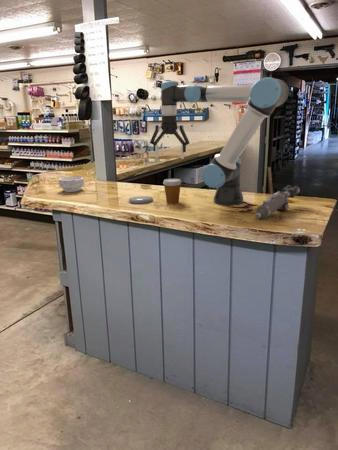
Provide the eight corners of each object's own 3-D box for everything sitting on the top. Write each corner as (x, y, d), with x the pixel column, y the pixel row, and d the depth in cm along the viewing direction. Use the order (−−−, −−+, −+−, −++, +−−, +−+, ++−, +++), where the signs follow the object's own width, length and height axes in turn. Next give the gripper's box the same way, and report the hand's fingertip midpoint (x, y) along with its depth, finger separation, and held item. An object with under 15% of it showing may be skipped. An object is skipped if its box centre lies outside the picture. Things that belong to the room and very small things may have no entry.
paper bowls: (87, 188, 238) (86, 175, 236) (80, 193, 224) (78, 180, 221) (65, 188, 240) (63, 176, 237) (56, 193, 225) (54, 180, 223)
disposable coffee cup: (180, 205, 189) (179, 181, 185) (162, 204, 191) (161, 181, 187) (183, 200, 198) (182, 178, 194) (165, 200, 200) (165, 178, 196)
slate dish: (156, 198, 203) (156, 196, 203) (147, 204, 192) (147, 202, 191) (134, 197, 208) (134, 195, 207) (124, 203, 196) (124, 201, 195)
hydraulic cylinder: (300, 200, 182) (301, 181, 178) (264, 230, 158) (263, 208, 154) (286, 198, 186) (286, 179, 182) (249, 227, 163) (248, 206, 159)
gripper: (195, 114, 182) (195, 158, 189) (148, 114, 189) (149, 156, 196) (192, 115, 175) (191, 160, 182) (142, 115, 182) (144, 158, 189)
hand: (169, 158), depth 189 cm, fingers open, 13 cm apart
